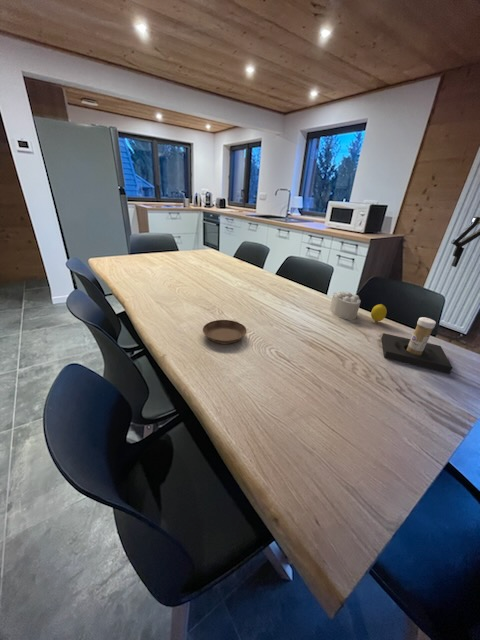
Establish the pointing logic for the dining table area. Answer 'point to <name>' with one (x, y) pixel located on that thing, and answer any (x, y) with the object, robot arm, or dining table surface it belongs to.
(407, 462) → the dining table surface
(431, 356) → the dock pad
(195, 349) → the dining table surface
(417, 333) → the sprinkles bottle
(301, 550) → the dining table surface
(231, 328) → the saucer
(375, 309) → the lemon
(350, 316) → the lumpy-topped squat cylinder
